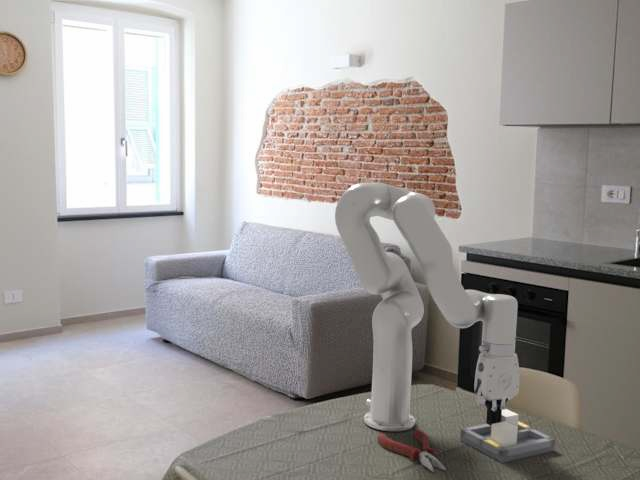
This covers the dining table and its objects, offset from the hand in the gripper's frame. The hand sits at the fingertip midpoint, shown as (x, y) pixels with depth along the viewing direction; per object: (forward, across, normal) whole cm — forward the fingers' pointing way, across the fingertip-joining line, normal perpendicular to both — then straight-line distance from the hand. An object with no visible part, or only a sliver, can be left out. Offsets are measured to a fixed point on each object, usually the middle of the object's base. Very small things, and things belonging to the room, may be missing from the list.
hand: (493, 425), depth 173 cm
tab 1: (+3, +4, 0) cm, 5 cm away
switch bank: (+4, +2, -3) cm, 5 cm away
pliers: (+5, -22, +3) cm, 23 cm away
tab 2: (+3, -2, -6) cm, 7 cm away
